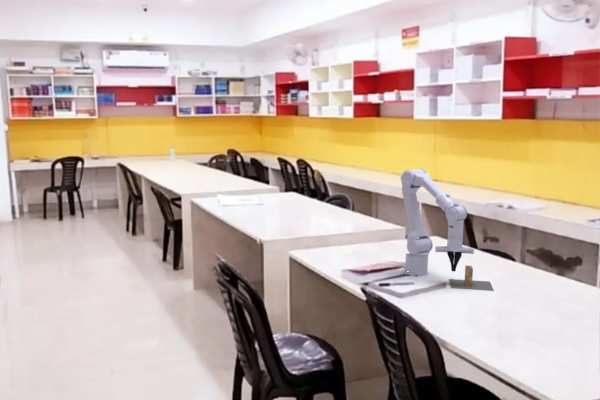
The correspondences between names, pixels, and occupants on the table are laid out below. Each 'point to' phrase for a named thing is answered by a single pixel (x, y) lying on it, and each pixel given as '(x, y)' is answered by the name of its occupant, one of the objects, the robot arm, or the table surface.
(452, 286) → the mat
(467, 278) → the block
